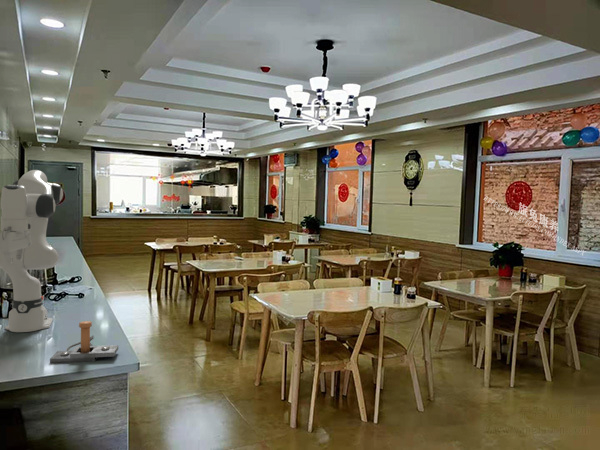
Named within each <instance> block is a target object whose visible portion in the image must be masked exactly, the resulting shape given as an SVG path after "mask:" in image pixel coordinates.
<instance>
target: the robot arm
mask: <svg viewBox="0 0 600 450" xmlns="http://www.w3.org/2000/svg"><path fill="white" fill-rule="evenodd" d="M12 183H13V184H6V185H4V186H2V189H1V195H0V210H1V215H0V231H1V232H0V269H1V270H2V271H4V273H6V274H7V275H8V277H9V278H10V280H11V283H12V289H13V290H12V291H13V299H12V302H11V305H12V309H11V310H10V311H9V312H8V322H7V323H8V324H7V325H6V326H5V327H4V330H7V331H10V332H13V333H29V332H35V331H39V330H44V329H49V328H50V327H51V325H52V323H53V321H54V319H53V318H52V317H48V309H47V308H46V307H45V306H44V305H43V304H44V303H43V300H44V296H43V295H42V283H41V281H40V280H39V279H38V278H36V277H35V276H33V275H31V274H30V273H29V272H28V271H29V270H31V271H33V270H46V269H52V268H54V267H55V266H56V265H57V263H58V261H59V253H58V252H57V250H56V248H54V247H52V246H51V244H50V243H49V242H48V240H47V229H48V223H49V218H50V217H51V216H53V215H54V214H55V212H56V206H58V204H60V203H61V202H62V200H63V198H64V190H63V188H62V186H61V185H60V184H58V183H55V182H53V183H52V182H48V177H47V175H46V173H44V171H41V170H39V169H31V170H29V171H27V172H25V173H24V174H23V175H22V176H21V177H20V178H19V179H17V180H14V182H12Z"/></svg>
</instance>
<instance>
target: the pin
mask: <svg viewBox="0 0 600 450" xmlns="http://www.w3.org/2000/svg"><path fill="white" fill-rule="evenodd" d="M92 325H93V323H92V321H90V320H89V321H88V320H87V321H86V320H84V321H80V322H79V323H78V328H80V342H81V344H80V346H81V352H90V343H91V341H90V337H91V327H92Z"/></svg>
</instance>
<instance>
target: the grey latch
mask: <svg viewBox="0 0 600 450" xmlns="http://www.w3.org/2000/svg"><path fill="white" fill-rule="evenodd" d="M118 351H119V345H118V344H115V345H113V344H112V345H111V344H110V345H93V346H90V352H81V345H80V346H78V345H77V346H75V348H74V349H73V350H68V351H67V350H57V351H56V352H55V353H54V354H53V355H52V356H51V357H50V359H49V364H61V363H63V364H64V363H85V362H95V361H96V360H97V359H98V358H107V357H108V358H110V357H115V356H116V354H117V352H118Z"/></svg>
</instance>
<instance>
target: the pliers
mask: <svg viewBox="0 0 600 450" xmlns="http://www.w3.org/2000/svg"><path fill="white" fill-rule="evenodd" d="M93 340H94V335H90V346H94V344H92V343H91V341H93ZM78 345H81V341H80V342H78V343H74V344H72V345H70V346H68V347H67V349H66V351H70V349H71V348H73V347H77V346H78Z"/></svg>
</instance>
